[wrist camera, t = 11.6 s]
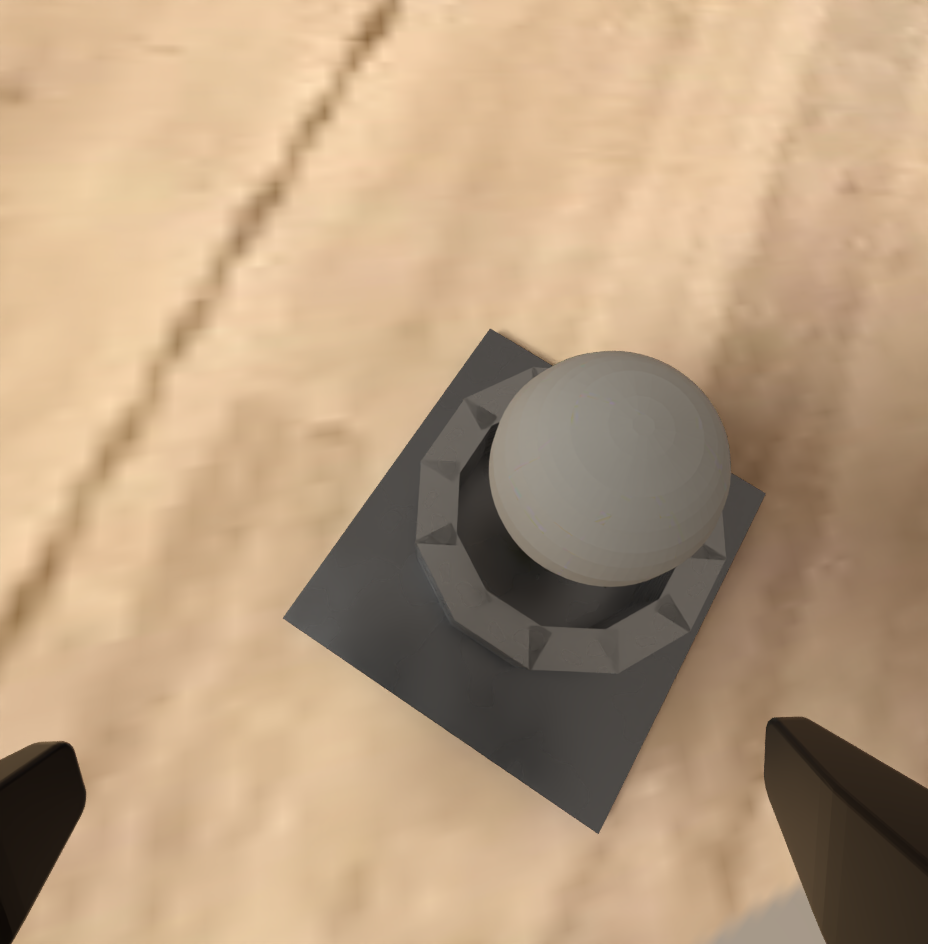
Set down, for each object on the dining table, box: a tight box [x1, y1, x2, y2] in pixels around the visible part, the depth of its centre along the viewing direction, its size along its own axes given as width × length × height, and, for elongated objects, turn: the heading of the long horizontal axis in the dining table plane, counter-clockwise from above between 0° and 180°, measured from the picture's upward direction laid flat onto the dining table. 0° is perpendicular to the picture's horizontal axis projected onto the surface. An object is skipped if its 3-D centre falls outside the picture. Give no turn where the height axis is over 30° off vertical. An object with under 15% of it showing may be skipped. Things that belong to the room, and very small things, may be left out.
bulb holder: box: [283, 329, 766, 834], centre depth 20 cm, size 13×12×4 cm
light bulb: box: [489, 351, 731, 587], centre depth 16 cm, size 5×5×10 cm
